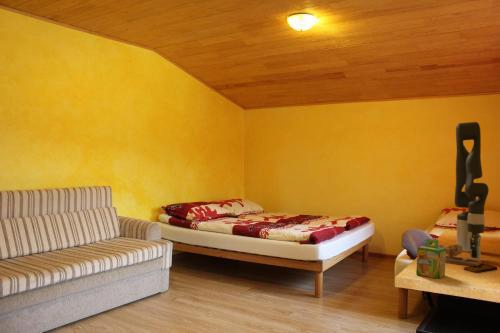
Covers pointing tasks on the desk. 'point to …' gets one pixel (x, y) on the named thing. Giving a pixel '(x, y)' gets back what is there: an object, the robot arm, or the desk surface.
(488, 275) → the desk surface
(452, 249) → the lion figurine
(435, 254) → the chalk box
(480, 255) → the block
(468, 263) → the board
